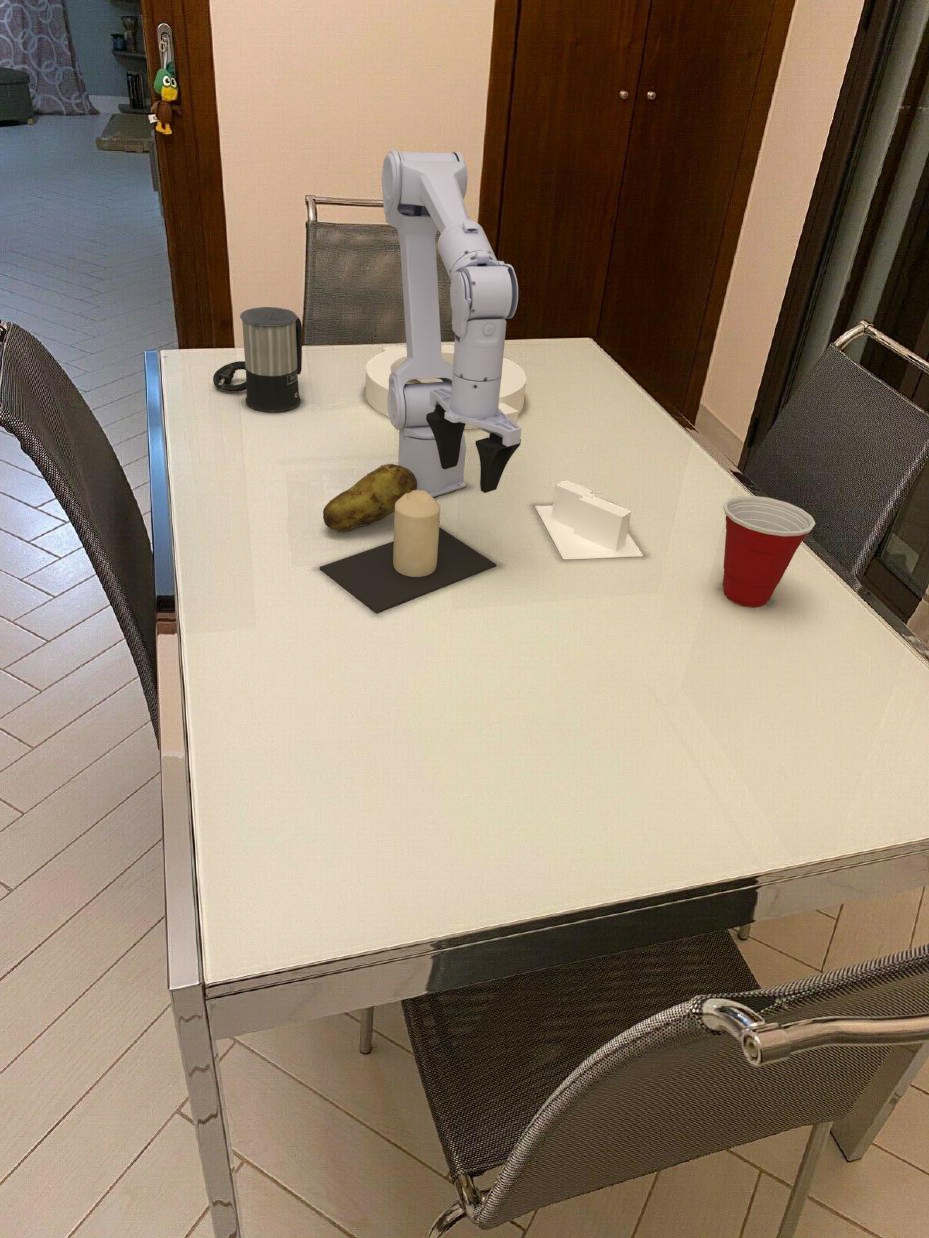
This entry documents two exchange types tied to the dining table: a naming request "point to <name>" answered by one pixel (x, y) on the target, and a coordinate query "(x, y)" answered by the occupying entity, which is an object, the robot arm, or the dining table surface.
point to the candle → (416, 534)
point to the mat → (387, 588)
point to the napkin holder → (587, 524)
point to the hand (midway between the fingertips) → (468, 478)
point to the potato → (369, 498)
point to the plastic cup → (760, 546)
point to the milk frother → (267, 360)
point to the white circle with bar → (395, 355)
